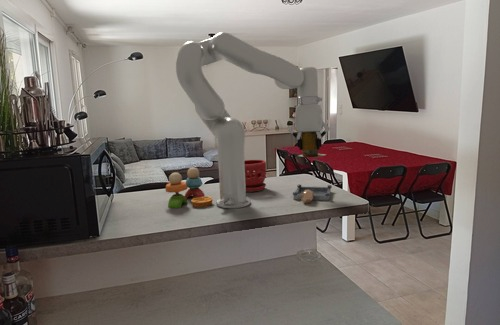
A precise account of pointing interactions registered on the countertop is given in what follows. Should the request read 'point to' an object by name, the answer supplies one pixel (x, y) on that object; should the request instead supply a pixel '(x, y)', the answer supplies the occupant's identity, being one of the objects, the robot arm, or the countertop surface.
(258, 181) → the plant pot
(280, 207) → the countertop surface
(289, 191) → the countertop surface
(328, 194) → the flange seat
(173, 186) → the wooden stacking toy
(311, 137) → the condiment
